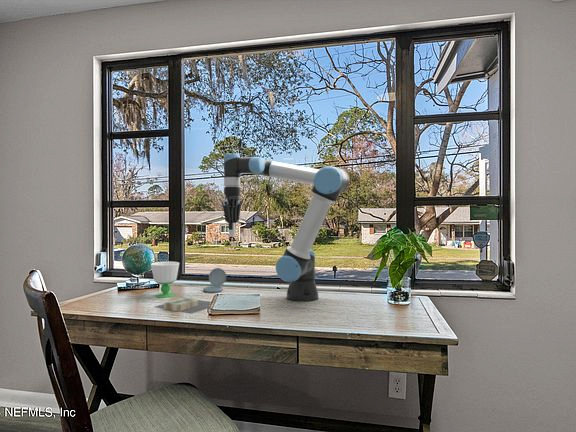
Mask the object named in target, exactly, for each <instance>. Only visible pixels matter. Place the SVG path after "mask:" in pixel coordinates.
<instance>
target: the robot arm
mask: <svg viewBox="0 0 576 432" xmlns="http://www.w3.org/2000/svg"><path fill="white" fill-rule="evenodd" d="M241 174H242V175H243V174H245V175H249V174H252V175H260V176H265V177H269V178H276V179H280V180H286V181H292V182H297V183H301V184H307V185H311V186H312V189H311V194H312V197H311V200H310V201H309V204H308V207H307V208H306V211H305V213H304V214H303V215H304V216H303V217H302V220H301V222H300V224H299V227H298V229H297V231H296V234H295V236H294V238H293V239H292V240H293V241H292V242H291V244H290V245H287V247H286V248H285V250H284V252H283V254H282V256H280V257H279V258H278V259H277V260H276V264H275V271H276V274H277V275H278V278H280V279H281V280H283V281H284V282H286V283H287V282H289V284H288V288H287V291H286V298H287V299H288V300H291V301H298V302H310V301H315V300H318V299H319V290H318V289H317V287H318V286H317V285H316V281H315V279H316V276H315V275H316V274H315V273H316V272H315V271H316V270H315V269H316V267H315V266H316V265H315V264H316V256H315V251H314V250H311V249H312V247H313V245H314V242H315V241H316V239H317V236H318V234H319V231H320V230H321V228H322V225H323V222H324V221H325V218H326V217H327V214H328V212H329V210H330V208H331V205H332V204H334V203H336V202H337V200H338V198H339V195H340V194H342V193H344V192H345V191H346V190H347V189H348V188H349V186H350V176H349V174H348V173H347V171H345V170H344V169H342V168H339V167H336V166H333V165H326V166H323V167H321V168H319V169H318V168H313V167H307V166H301V165H295V164H291V163H285V162H278V161H272V160H268V159H264V158H263V157H261V156H250V157H249V156H248V157H241V155H240V153H235V152H233V153H232V152H231V153H230V152H229V153H228V152H227V153H225V154H224V155H223V186H224V188H223V195H225V198H224V201H223V200H222V201H221V206H222V208H223V214H224V221H225V222H226V223H228V237H231V238H235V237H236V229H237V226H236V225H237V223H238V222H239V221H240V215H241V208H242V205H243V201H242V200H241V201H240V197H239V196H240V195H241V188H240V186H241Z"/></svg>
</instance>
